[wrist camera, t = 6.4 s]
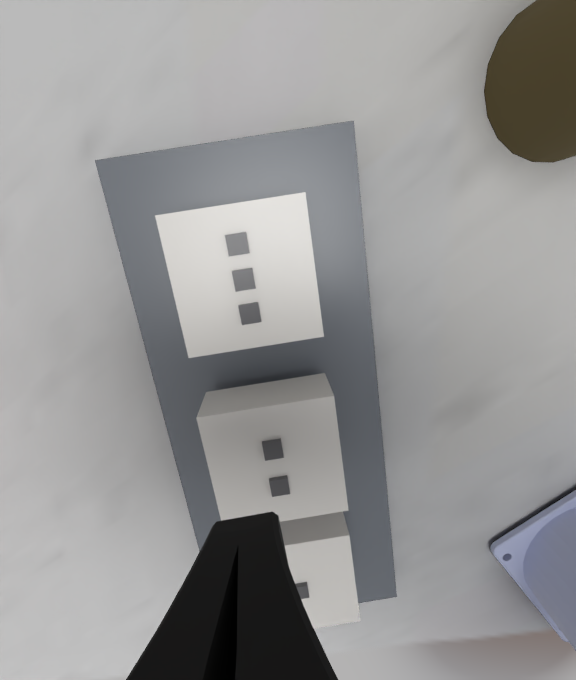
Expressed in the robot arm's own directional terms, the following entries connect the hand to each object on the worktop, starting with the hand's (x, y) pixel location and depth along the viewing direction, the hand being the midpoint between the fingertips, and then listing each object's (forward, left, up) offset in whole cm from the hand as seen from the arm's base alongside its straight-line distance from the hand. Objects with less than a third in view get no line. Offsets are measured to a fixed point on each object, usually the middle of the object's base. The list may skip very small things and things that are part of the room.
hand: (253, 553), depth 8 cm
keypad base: (-2, +1, -10) cm, 10 cm away
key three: (+4, -3, -9) cm, 10 cm away
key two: (-2, +1, -8) cm, 8 cm away
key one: (-8, +4, -9) cm, 13 cm away
